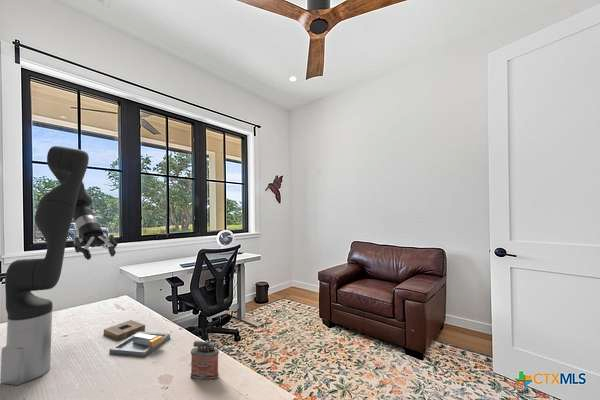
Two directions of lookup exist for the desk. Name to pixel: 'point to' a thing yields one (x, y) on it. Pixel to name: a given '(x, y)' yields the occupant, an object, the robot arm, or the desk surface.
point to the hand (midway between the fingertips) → (101, 256)
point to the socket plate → (124, 330)
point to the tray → (136, 346)
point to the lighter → (204, 361)
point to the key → (147, 339)
